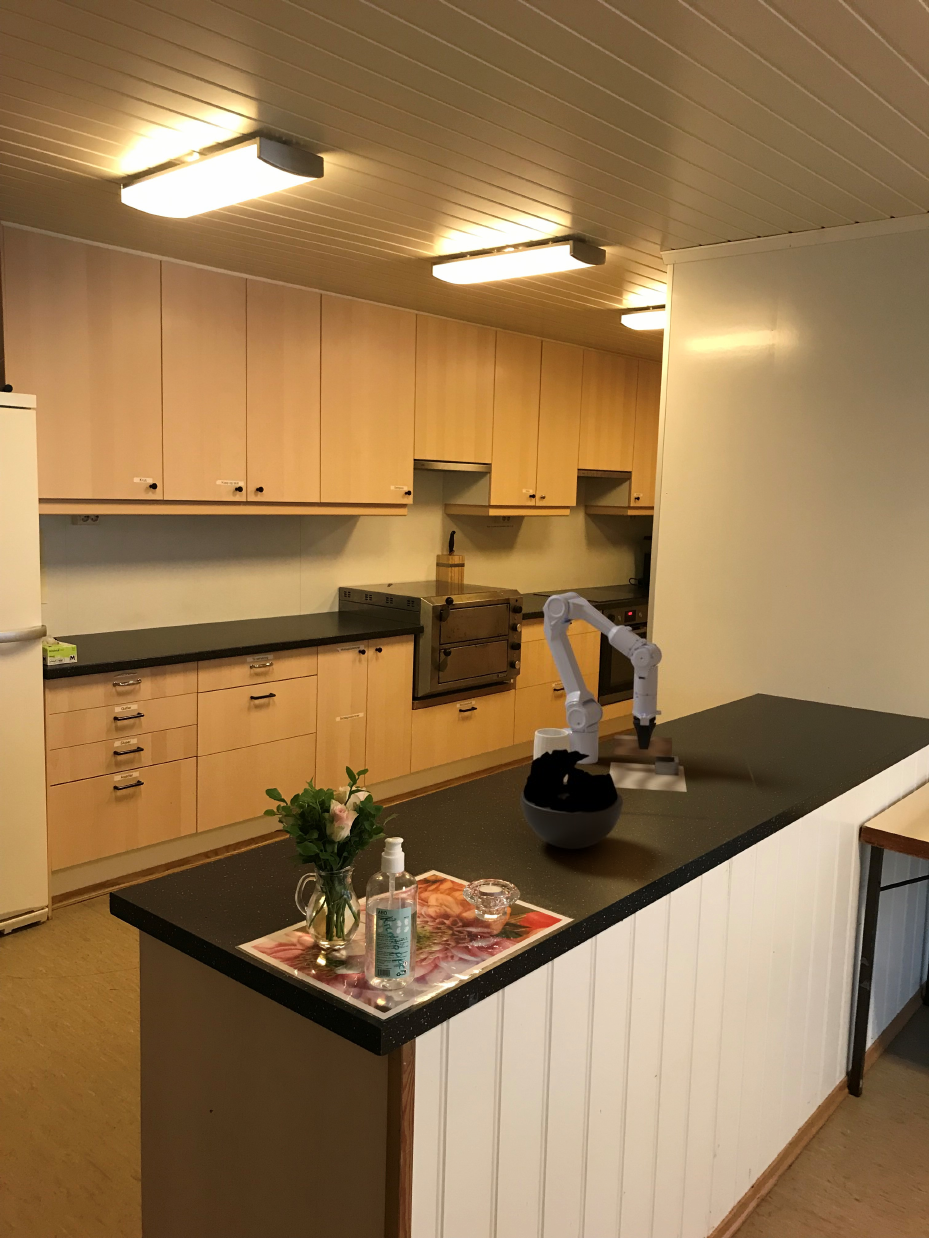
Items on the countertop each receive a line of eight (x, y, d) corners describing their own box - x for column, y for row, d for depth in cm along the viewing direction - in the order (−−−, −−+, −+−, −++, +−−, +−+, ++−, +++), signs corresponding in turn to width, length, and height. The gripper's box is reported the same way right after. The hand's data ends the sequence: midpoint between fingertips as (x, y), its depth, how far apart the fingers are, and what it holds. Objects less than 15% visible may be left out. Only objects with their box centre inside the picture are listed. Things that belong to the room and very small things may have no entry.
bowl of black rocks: (556, 821, 208) (558, 735, 206) (640, 843, 196) (643, 751, 193) (499, 847, 193) (500, 754, 190) (586, 873, 180) (588, 774, 178)
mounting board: (607, 789, 230) (608, 786, 230) (610, 765, 251) (610, 762, 251) (686, 794, 227) (686, 791, 227) (683, 769, 248) (683, 766, 248)
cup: (567, 798, 224) (568, 737, 222) (530, 795, 225) (531, 735, 224) (570, 787, 232) (572, 728, 230) (535, 785, 234) (536, 726, 232)
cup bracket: (655, 774, 241) (655, 762, 240) (654, 766, 247) (655, 754, 247) (678, 775, 240) (679, 763, 239) (677, 767, 246) (678, 756, 246)
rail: (613, 754, 243) (614, 738, 243) (614, 750, 247) (614, 734, 246) (671, 757, 241) (672, 741, 240) (671, 753, 244) (671, 737, 244)
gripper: (662, 700, 234) (660, 755, 236) (661, 688, 248) (659, 740, 250) (632, 698, 235) (630, 753, 237) (633, 686, 249) (631, 739, 251)
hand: (643, 746), depth 244 cm, fingers closed on rail, 3 cm apart
